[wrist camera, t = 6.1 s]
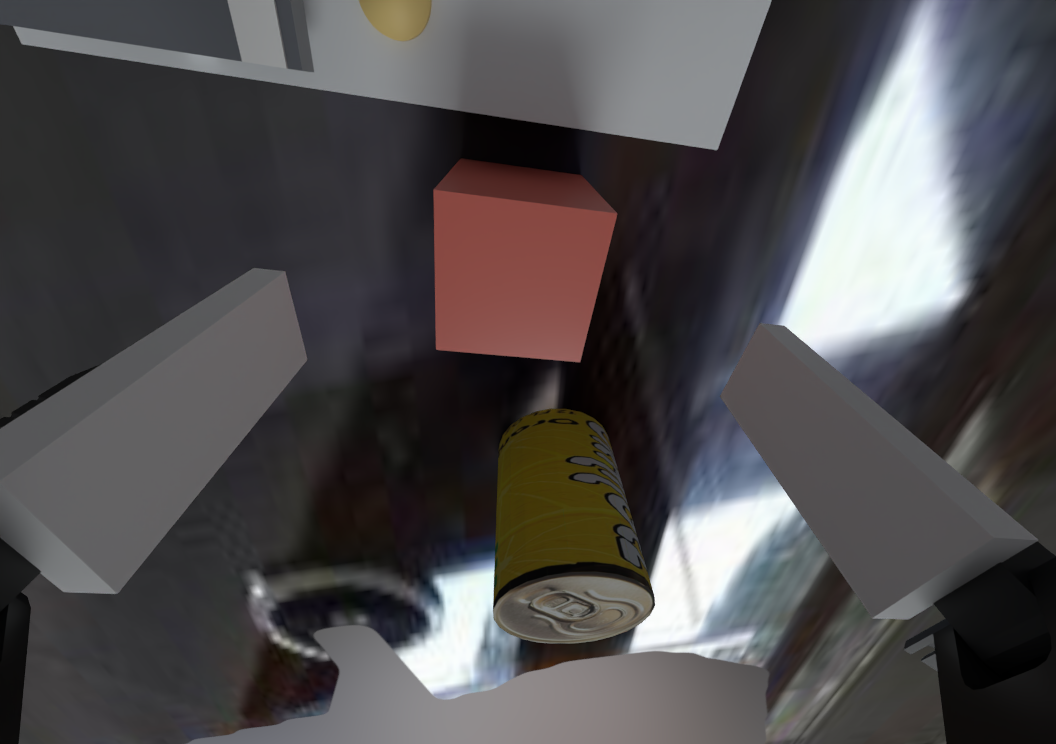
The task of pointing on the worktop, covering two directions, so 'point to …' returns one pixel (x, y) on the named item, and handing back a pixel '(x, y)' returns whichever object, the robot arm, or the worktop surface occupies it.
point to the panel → (514, 59)
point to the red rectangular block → (517, 260)
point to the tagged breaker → (180, 26)
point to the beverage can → (565, 534)
